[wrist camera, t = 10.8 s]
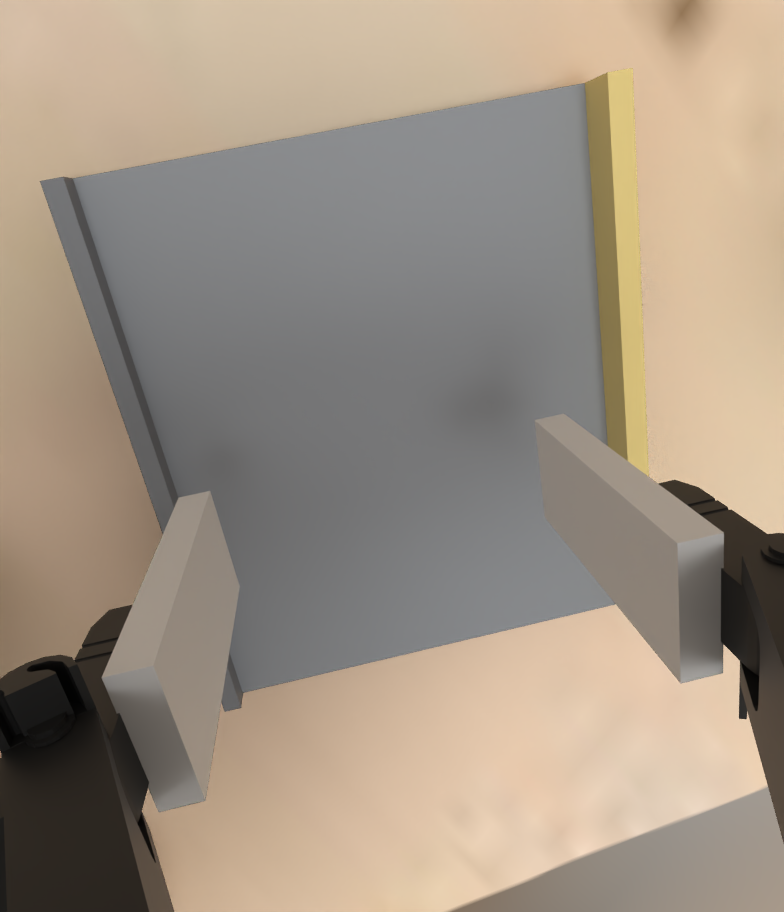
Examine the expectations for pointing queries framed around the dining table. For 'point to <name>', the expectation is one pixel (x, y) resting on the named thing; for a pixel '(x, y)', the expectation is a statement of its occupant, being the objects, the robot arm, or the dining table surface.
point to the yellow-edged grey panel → (375, 361)
